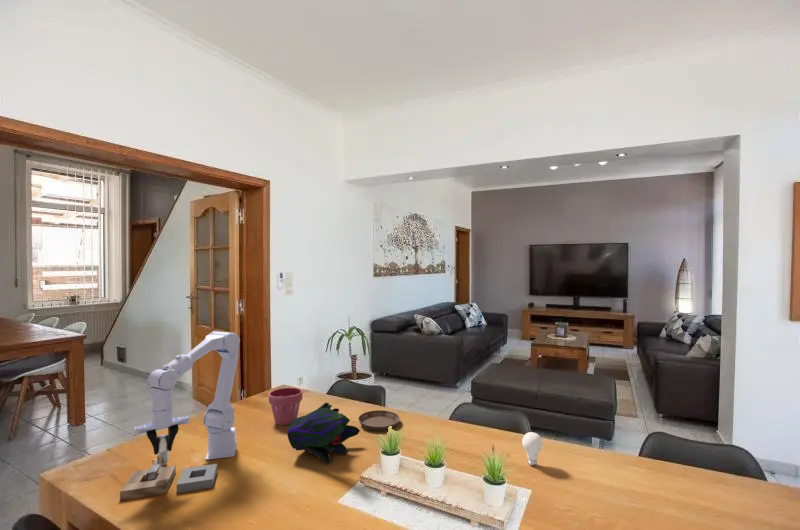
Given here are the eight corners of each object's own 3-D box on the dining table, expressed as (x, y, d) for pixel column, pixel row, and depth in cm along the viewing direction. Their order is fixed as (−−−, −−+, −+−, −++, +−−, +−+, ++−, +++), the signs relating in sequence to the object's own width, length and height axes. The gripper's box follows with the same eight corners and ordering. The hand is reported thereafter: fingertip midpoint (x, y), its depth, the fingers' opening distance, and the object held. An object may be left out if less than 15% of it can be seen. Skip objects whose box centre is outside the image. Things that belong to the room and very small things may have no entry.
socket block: (175, 472, 132) (175, 465, 132) (166, 492, 121) (166, 484, 121) (133, 478, 129) (133, 471, 129) (120, 500, 117) (120, 491, 117)
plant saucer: (407, 422, 174) (407, 415, 174) (384, 437, 160) (384, 429, 159) (374, 414, 184) (374, 407, 184) (349, 427, 169) (349, 420, 169)
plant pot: (288, 412, 186) (288, 384, 185) (309, 419, 177) (309, 390, 177) (262, 422, 174) (261, 393, 174) (282, 430, 166) (282, 399, 166)
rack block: (217, 471, 133) (217, 463, 133) (212, 487, 124) (212, 479, 124) (183, 476, 130) (183, 468, 130) (176, 492, 121) (176, 484, 121)
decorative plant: (315, 467, 154) (385, 457, 145) (270, 470, 132) (350, 459, 123) (314, 410, 163) (380, 398, 154) (272, 404, 142) (347, 389, 132)
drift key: (167, 464, 138) (167, 456, 137) (159, 479, 128) (159, 471, 128) (153, 466, 136) (153, 458, 136) (144, 481, 127) (143, 473, 127)
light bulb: (542, 462, 138) (542, 430, 138) (542, 471, 132) (542, 438, 132) (522, 459, 140) (522, 427, 140) (521, 468, 134) (521, 435, 134)
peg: (168, 458, 128) (168, 433, 128) (168, 462, 125) (168, 437, 125) (157, 460, 126) (156, 435, 126) (156, 465, 123) (156, 439, 123)
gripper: (186, 399, 133) (186, 440, 133) (133, 409, 124) (134, 453, 124) (189, 405, 127) (190, 448, 127) (135, 416, 119) (135, 462, 119)
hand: (162, 451), depth 126 cm, fingers closed on peg, 3 cm apart
